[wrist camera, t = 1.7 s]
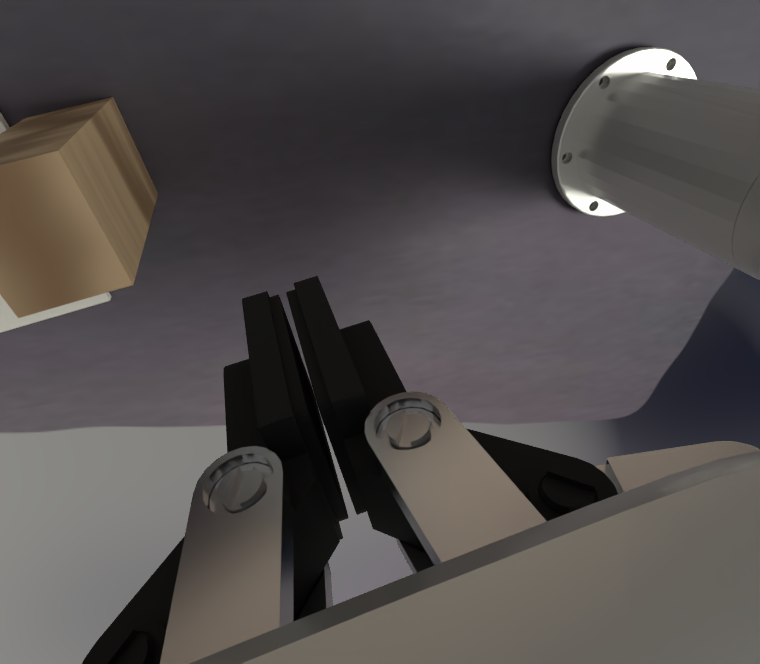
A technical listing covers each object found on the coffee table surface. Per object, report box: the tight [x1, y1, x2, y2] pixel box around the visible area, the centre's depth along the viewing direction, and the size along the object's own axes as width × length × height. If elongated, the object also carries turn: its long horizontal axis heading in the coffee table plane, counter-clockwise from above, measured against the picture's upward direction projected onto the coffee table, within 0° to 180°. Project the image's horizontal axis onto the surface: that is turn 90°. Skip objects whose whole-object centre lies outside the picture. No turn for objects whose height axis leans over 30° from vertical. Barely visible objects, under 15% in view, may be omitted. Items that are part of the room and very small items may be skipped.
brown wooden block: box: [0, 97, 158, 318], centre depth 25 cm, size 5×6×13 cm
